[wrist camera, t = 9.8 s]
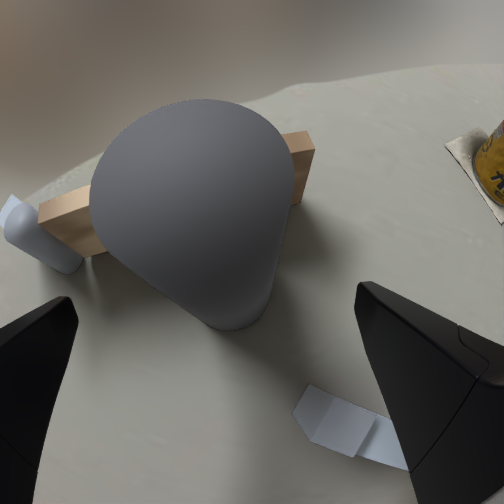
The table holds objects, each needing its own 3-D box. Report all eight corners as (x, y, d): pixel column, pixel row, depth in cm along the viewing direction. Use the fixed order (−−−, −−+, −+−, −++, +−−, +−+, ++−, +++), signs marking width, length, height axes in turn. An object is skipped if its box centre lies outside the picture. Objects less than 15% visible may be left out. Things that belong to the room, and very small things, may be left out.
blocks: (412, 424, 15) (468, 441, 9) (395, 457, 14) (444, 486, 9) (51, 222, 20) (5, 183, 14) (35, 249, 19) (-16, 216, 13)
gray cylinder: (287, 288, 18) (338, 171, 7) (228, 348, 17) (173, 331, 5) (229, 235, 19) (199, 77, 8) (171, 289, 18) (60, 184, 7)
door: (85, 257, 18) (37, 223, 13) (83, 228, 19) (40, 188, 14) (300, 202, 19) (315, 148, 14) (289, 174, 20) (300, 116, 15)
